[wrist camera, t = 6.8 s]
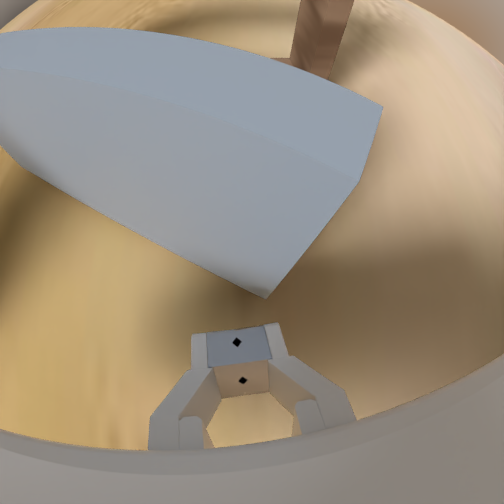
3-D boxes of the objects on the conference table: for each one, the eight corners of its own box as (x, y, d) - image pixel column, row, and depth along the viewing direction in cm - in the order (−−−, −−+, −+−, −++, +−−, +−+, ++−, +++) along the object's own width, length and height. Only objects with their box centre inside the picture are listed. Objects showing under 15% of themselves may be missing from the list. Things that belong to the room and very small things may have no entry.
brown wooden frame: (318, 107, 20) (387, -110, 3) (24, 158, 18) (-89, 10, 1) (303, 71, 21) (348, -117, 4) (36, 118, 19) (-50, -24, 2)
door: (265, 299, 15) (359, 181, 3) (21, 166, 17) (-68, 66, 5) (279, 271, 15) (383, 106, 4) (33, 149, 17) (-48, 44, 5)
